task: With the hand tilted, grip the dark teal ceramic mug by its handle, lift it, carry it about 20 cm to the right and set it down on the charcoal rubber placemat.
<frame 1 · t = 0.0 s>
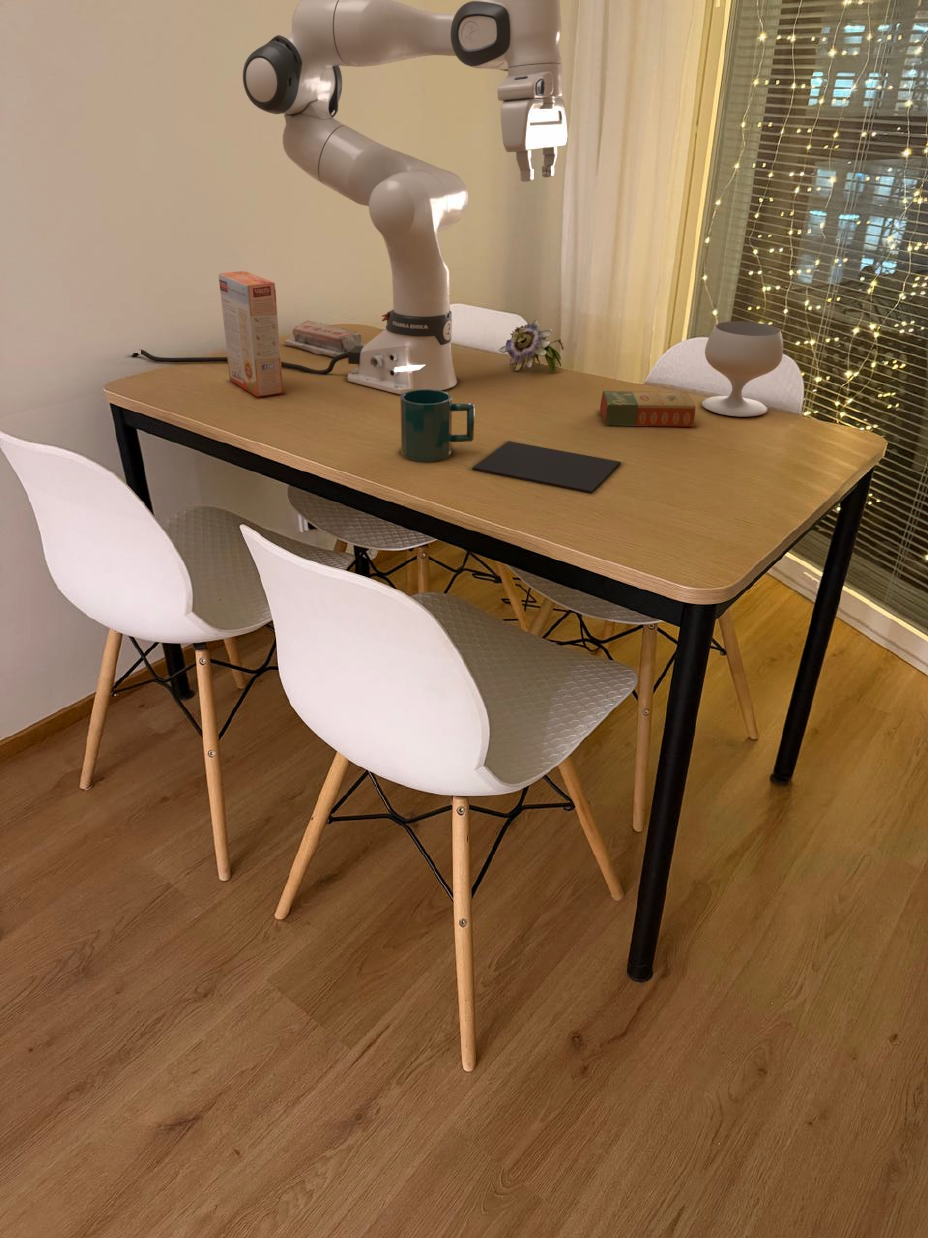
hand: (538, 178, 157), 39 cm above the table, tool pointing down, fingers open, 8 cm apart
carton: (645, 420, 168), on the table
passion flower: (531, 368, 197), on the table
packaged product: (326, 349, 207), on the table
chalice: (733, 409, 174), on the table
placemat: (547, 466, 146), on the table
mug: (426, 452, 151), on the table
cracker box: (256, 388, 181), on the table
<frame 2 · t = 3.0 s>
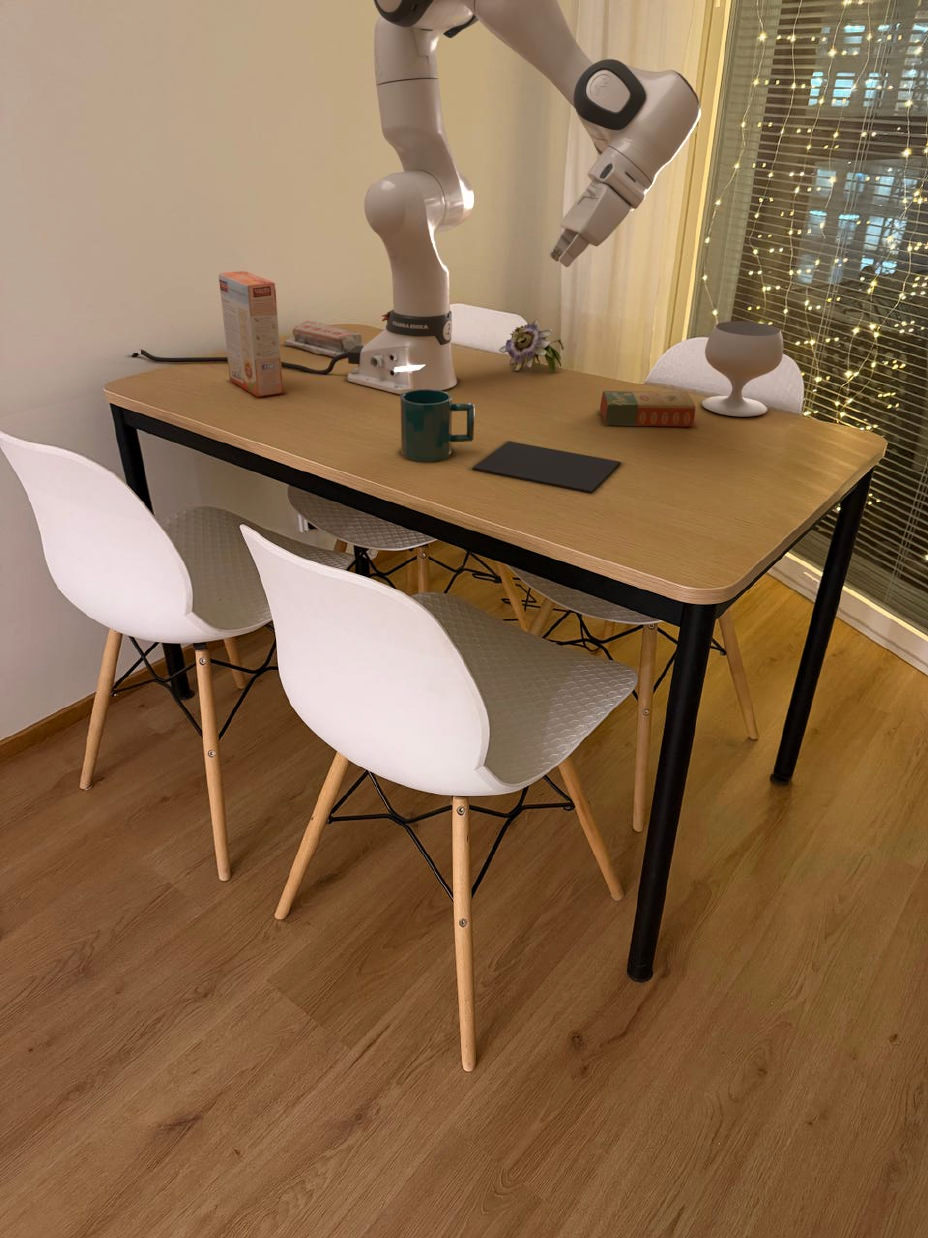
hand: (557, 261, 141), 29 cm above the table, tool tilted 35°, fingers open, 8 cm apart
nothing on the table moved.
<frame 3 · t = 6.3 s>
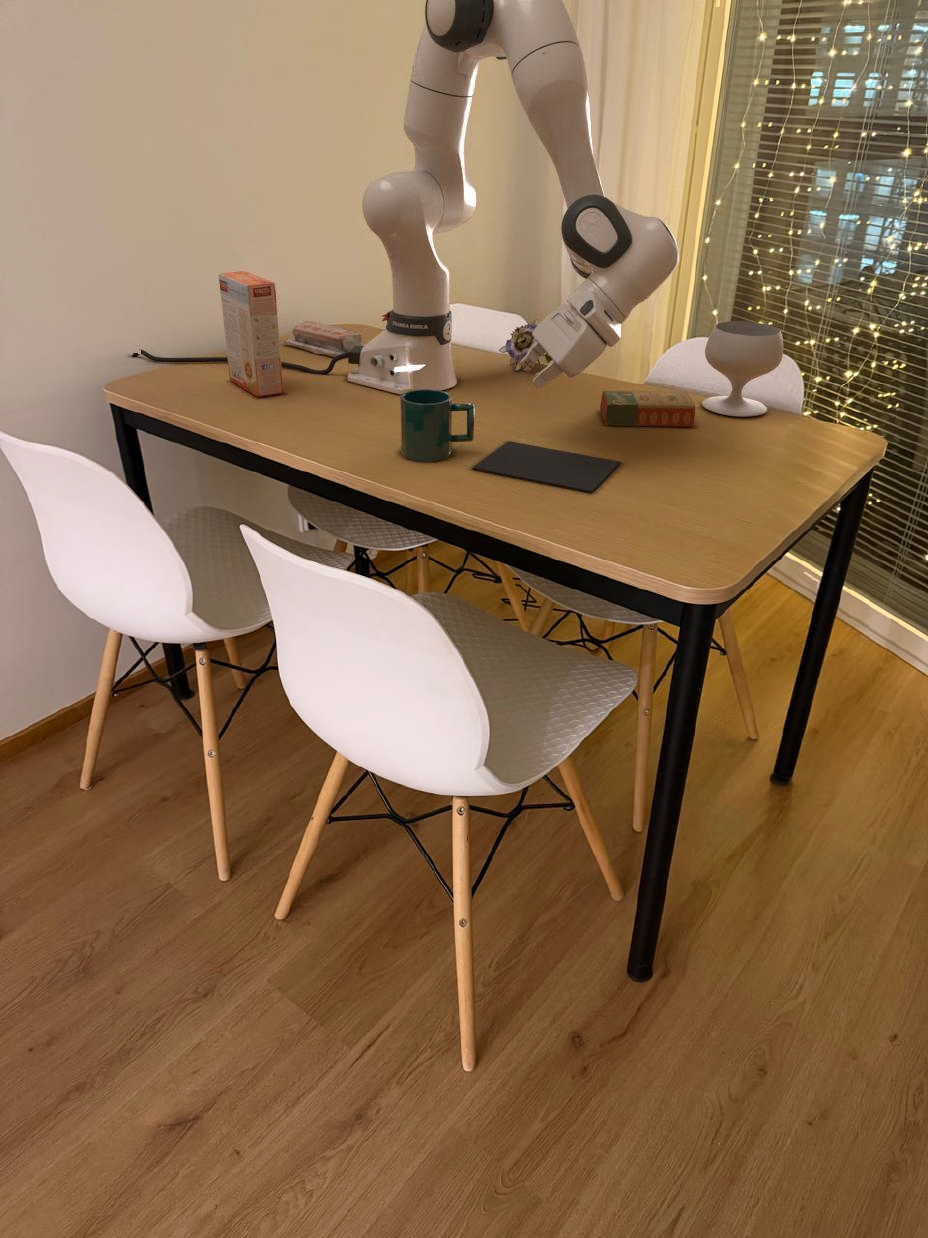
hand: (528, 376, 146), 12 cm above the table, tool tilted 45°, fingers open, 8 cm apart
nothing on the table moved.
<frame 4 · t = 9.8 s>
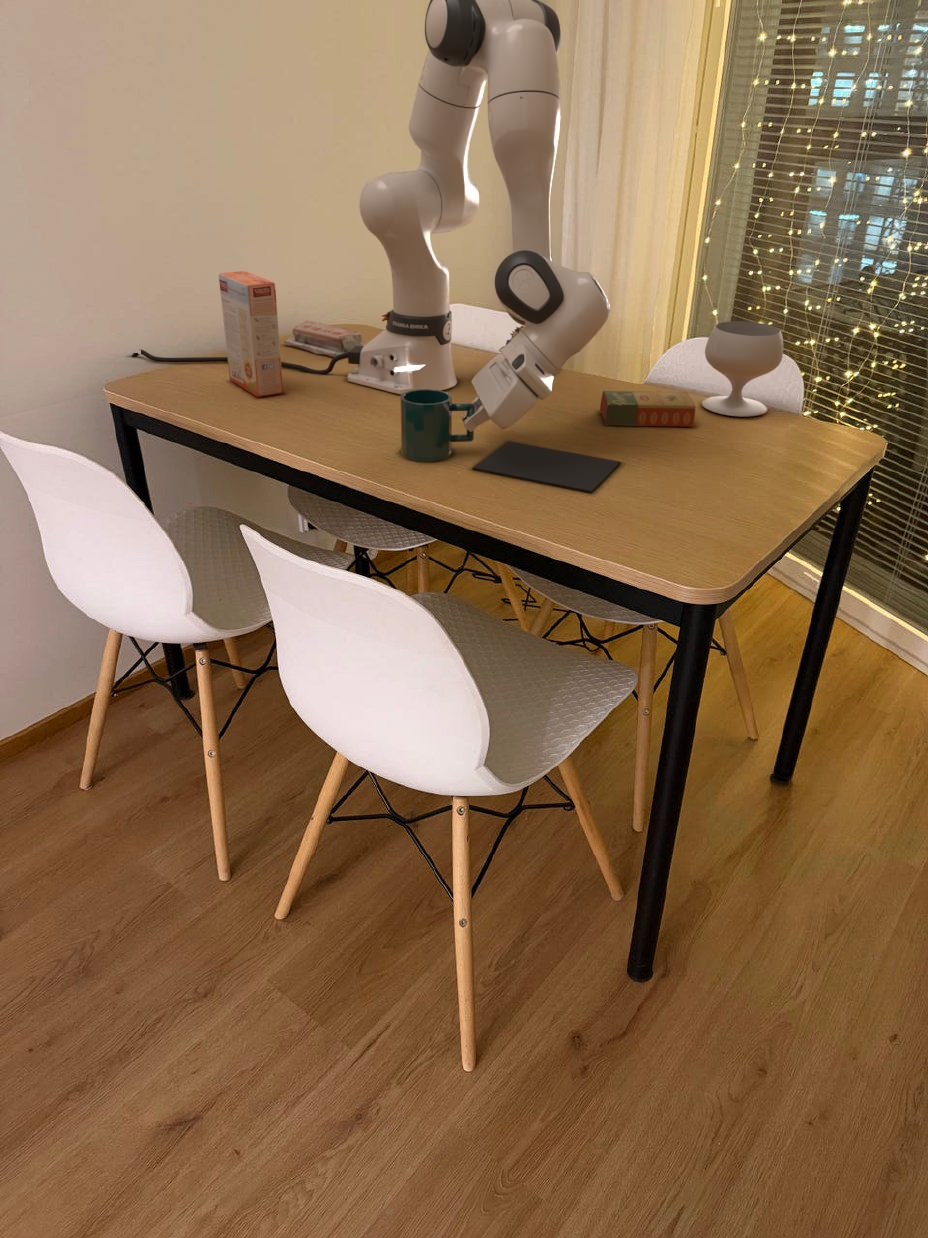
hand: (465, 425, 149), 5 cm above the table, tool tilted 45°, fingers closed on mug
mug: (426, 452, 151), on the table, touching gripper
everything else where it was.
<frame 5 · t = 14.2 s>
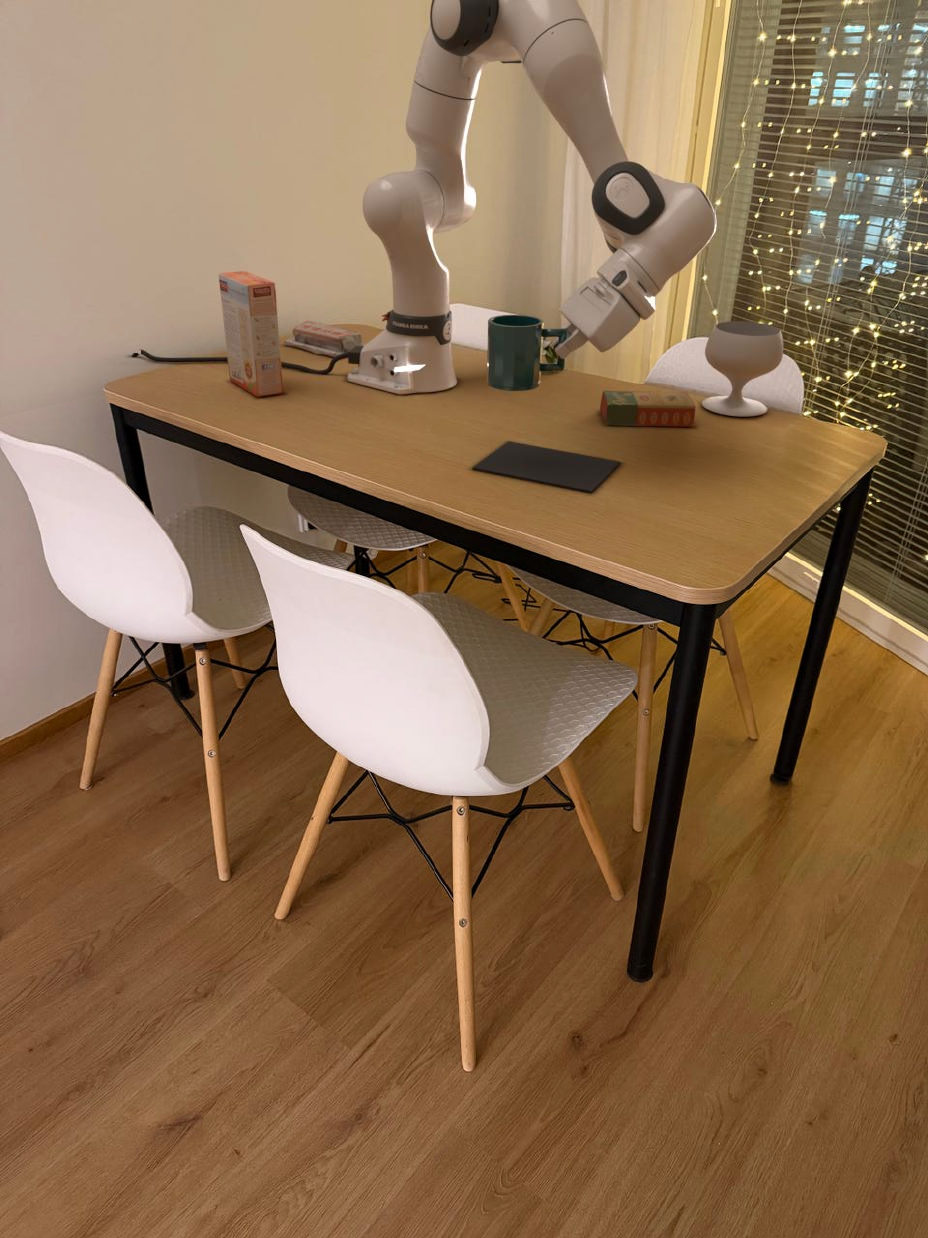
hand: (556, 352, 139), 18 cm above the table, tool tilted 45°, fingers closed on mug
mug: (513, 383, 141), point 13 cm above the table, touching gripper
everything else where it was.
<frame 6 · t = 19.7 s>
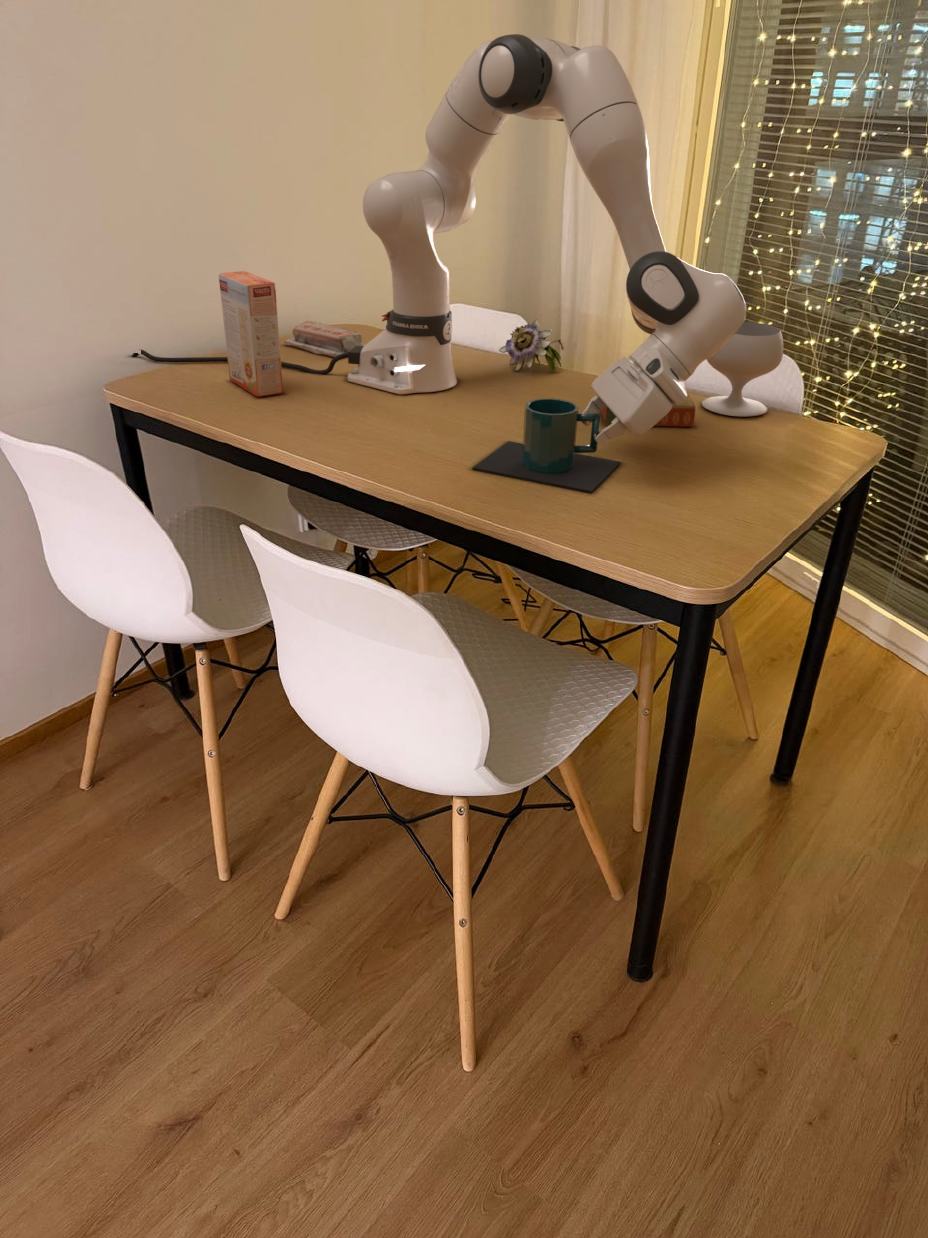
hand: (589, 431, 144), 6 cm above the table, tool tilted 45°, fingers open, 8 cm apart
mug: (547, 464, 146), resting on placemat
everything else where it was.
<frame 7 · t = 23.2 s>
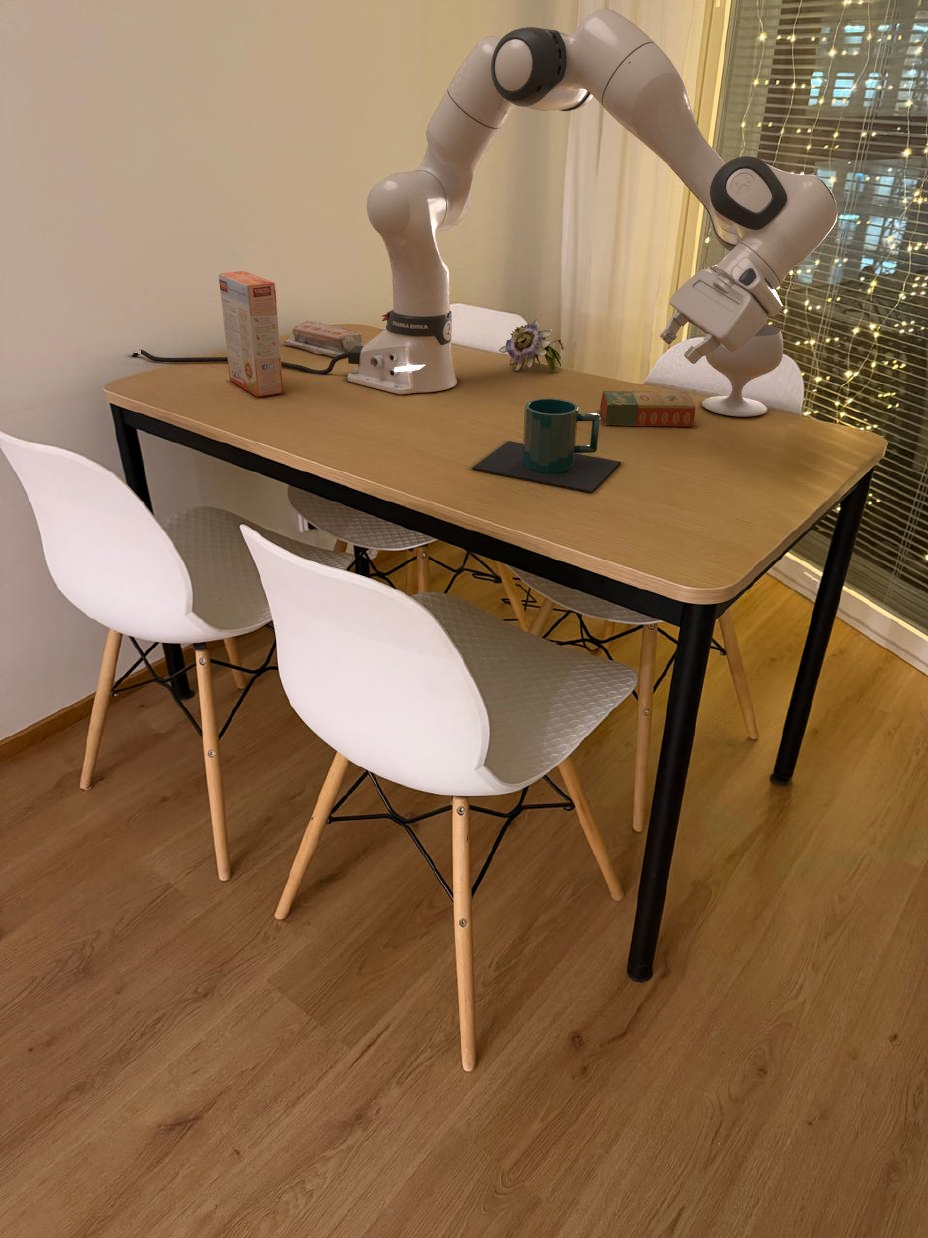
hand: (675, 349, 141), 18 cm above the table, tool tilted 40°, fingers open, 8 cm apart
nothing on the table moved.
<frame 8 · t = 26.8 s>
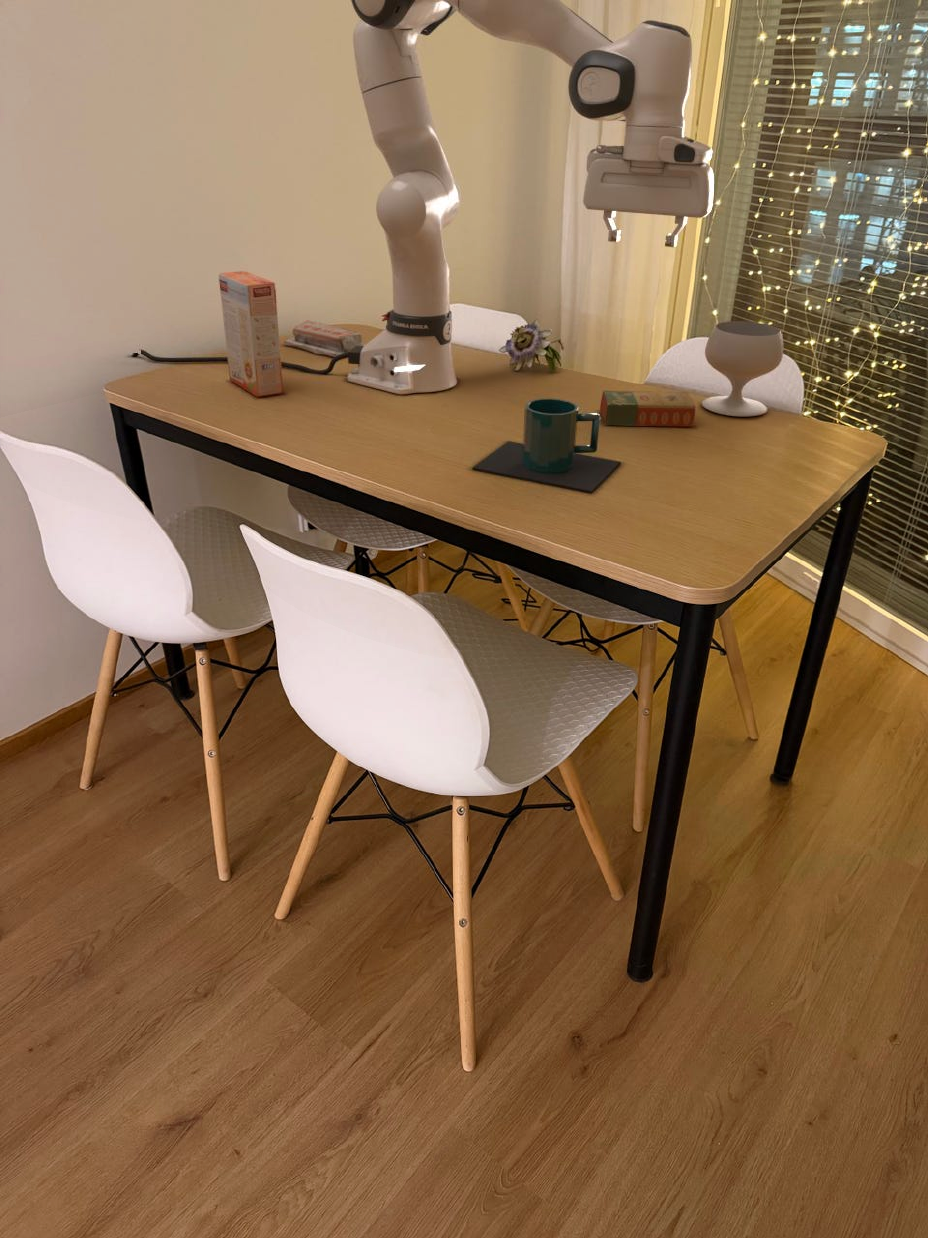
hand: (641, 243, 146), 31 cm above the table, tool pointing down, fingers open, 8 cm apart
nothing on the table moved.
at the end: mug inside the target area on the placemat (0.2 cm from its centre), point 0.4 cm above the placemat's base; mug tilted 0°; the gripper is holding nothing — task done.
